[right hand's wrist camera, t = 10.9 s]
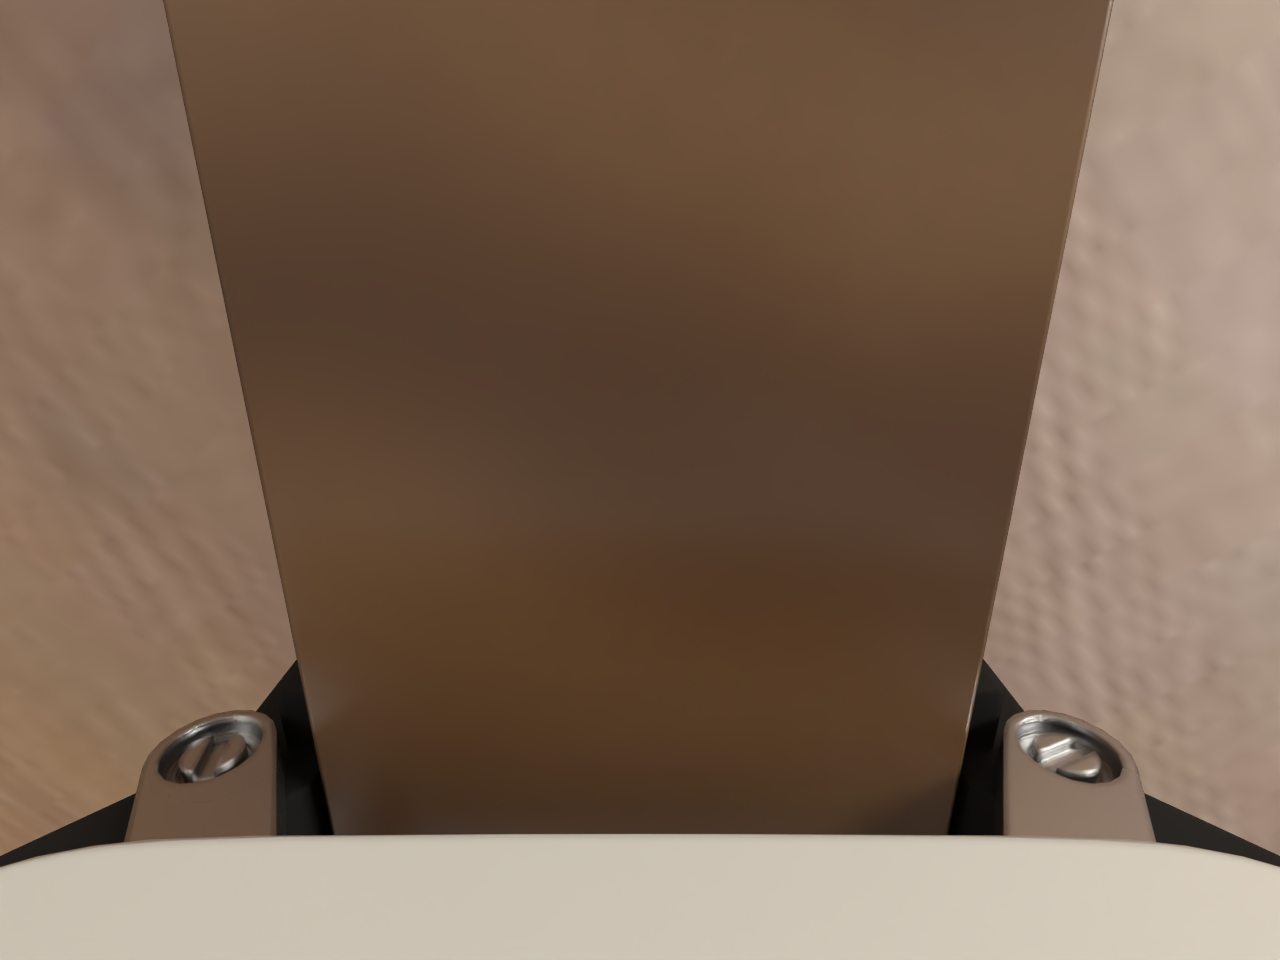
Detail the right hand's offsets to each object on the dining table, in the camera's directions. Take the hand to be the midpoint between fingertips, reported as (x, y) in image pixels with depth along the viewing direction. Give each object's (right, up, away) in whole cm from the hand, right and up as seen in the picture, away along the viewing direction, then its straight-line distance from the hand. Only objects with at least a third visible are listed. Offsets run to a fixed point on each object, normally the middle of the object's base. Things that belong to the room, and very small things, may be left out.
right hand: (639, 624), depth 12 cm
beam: (0, +26, -8) cm, 28 cm away
